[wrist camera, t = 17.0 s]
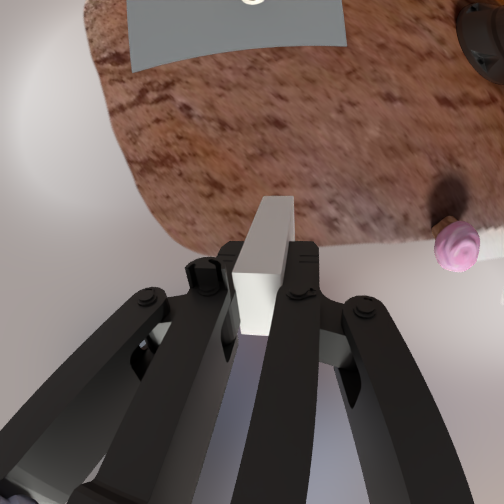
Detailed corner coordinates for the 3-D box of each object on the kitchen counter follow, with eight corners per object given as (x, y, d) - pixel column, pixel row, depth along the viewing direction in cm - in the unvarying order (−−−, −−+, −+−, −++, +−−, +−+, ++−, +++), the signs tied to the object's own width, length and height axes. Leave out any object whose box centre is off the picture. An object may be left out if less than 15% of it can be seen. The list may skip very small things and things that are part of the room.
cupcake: (451, 197, 42) (476, 222, 33) (470, 230, 44) (493, 259, 35) (415, 227, 46) (433, 257, 38) (436, 258, 48) (454, 290, 40)
